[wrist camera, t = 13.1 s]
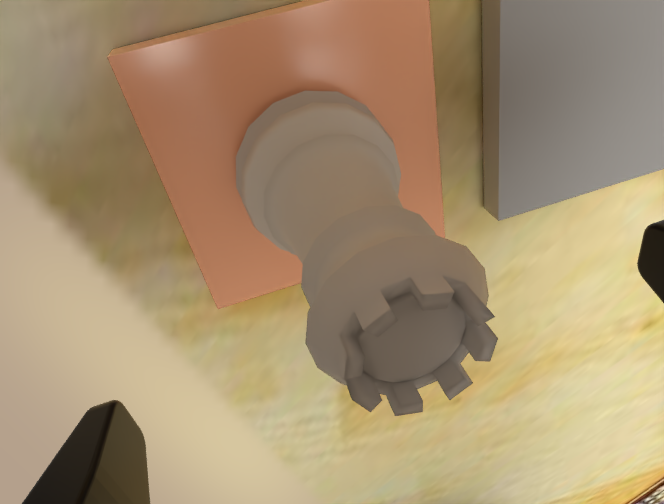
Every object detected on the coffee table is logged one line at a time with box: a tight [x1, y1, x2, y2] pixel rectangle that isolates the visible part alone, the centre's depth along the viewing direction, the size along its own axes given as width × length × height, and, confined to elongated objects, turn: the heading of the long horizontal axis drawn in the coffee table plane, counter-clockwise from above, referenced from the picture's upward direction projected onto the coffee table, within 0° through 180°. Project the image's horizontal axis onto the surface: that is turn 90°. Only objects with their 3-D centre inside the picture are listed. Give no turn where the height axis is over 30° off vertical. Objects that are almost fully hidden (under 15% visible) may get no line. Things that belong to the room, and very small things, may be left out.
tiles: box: [107, 0, 664, 309], centre depth 15 cm, size 8×18×1 cm, turn 101°
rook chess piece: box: [236, 91, 498, 416], centre depth 11 cm, size 4×4×8 cm
